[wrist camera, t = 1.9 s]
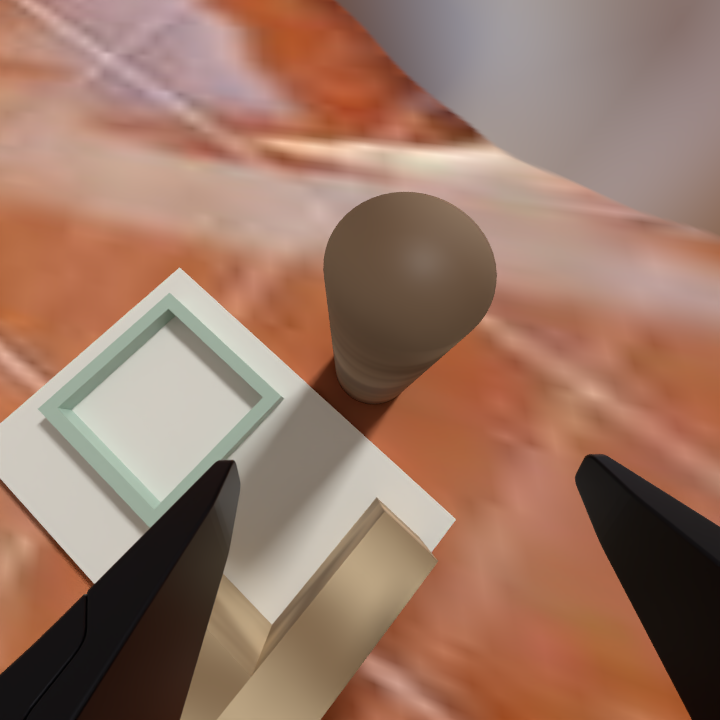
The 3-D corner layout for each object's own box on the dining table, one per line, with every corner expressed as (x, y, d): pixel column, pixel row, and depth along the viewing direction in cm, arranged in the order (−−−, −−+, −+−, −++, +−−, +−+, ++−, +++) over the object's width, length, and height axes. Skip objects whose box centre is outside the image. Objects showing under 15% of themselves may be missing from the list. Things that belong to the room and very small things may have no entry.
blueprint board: (267, 762, 17) (259, 795, 15) (-17, 447, 19) (-48, 448, 18) (452, 517, 20) (462, 523, 18) (183, 272, 22) (171, 259, 21)
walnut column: (376, 420, 21) (422, 389, 8) (319, 369, 21) (286, 271, 9) (425, 364, 22) (529, 263, 9) (369, 316, 22) (400, 163, 10)
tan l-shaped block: (272, 727, 17) (249, 814, 13) (137, 580, 18) (79, 619, 14) (418, 536, 19) (438, 561, 15) (290, 416, 20) (277, 410, 16)
